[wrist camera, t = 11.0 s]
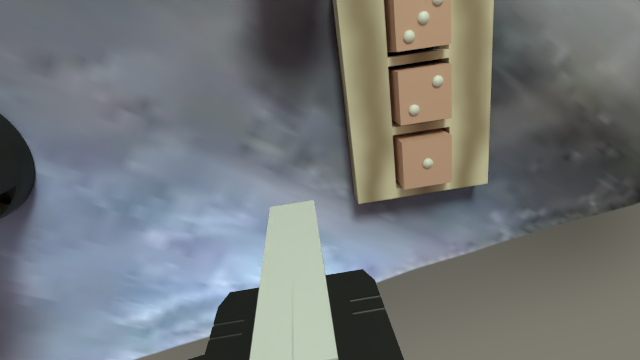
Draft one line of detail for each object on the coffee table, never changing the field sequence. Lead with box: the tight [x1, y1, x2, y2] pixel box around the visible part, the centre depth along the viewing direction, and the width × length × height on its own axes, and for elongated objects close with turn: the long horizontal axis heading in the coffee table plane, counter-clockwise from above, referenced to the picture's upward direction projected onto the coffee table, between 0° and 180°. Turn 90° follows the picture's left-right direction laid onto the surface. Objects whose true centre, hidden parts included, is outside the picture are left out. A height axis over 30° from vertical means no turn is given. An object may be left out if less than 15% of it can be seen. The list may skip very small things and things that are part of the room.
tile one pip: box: [393, 128, 452, 190], centre depth 41 cm, size 6×6×5 cm
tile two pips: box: [388, 63, 452, 126], centre depth 39 cm, size 6×6×5 cm
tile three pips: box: [384, 0, 451, 52], centre depth 36 cm, size 6×6×5 cm
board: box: [333, 0, 494, 204], centre depth 40 cm, size 16×24×3 cm, turn 8°
